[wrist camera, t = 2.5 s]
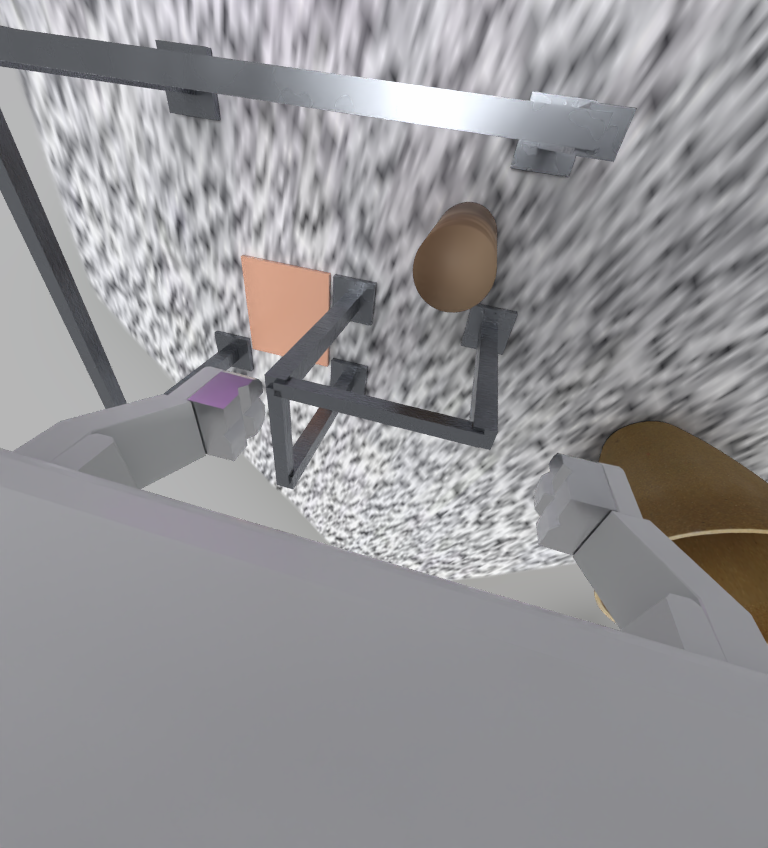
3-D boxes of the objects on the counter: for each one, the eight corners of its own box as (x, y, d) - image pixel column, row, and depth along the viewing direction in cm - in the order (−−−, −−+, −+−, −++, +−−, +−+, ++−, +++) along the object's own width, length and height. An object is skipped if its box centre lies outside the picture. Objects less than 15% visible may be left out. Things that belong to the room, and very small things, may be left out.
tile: (330, 273, 34) (329, 274, 34) (328, 364, 40) (327, 366, 40) (242, 254, 35) (240, 256, 35) (254, 347, 41) (252, 348, 41)
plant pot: (615, 514, 43) (660, 660, 31) (535, 439, 40) (552, 573, 27) (771, 458, 34) (921, 633, 22) (687, 355, 31) (812, 498, 18)
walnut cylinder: (506, 208, 27) (509, 234, 20) (486, 275, 31) (482, 319, 23) (441, 196, 28) (420, 218, 20) (429, 263, 31) (406, 303, 24)
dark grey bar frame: (595, 101, 23) (712, 54, 10) (476, 423, 40) (466, 552, 28) (161, 41, 26) (-144, -48, 14) (223, 361, 44) (112, 450, 31)
